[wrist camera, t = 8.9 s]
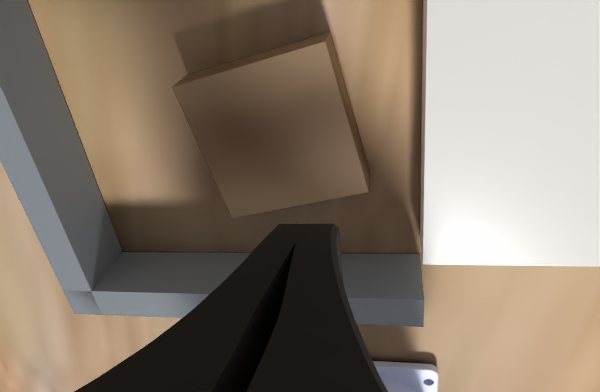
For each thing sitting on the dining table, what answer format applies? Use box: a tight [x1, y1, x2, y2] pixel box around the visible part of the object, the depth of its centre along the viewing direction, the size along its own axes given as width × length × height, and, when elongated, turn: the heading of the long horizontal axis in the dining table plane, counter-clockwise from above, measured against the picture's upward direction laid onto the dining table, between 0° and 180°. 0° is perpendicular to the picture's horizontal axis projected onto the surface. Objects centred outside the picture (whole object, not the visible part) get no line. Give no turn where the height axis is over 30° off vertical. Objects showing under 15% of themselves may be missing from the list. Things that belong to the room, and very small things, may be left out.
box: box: [0, 0, 424, 327], centre depth 18 cm, size 17×16×3 cm
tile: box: [172, 32, 370, 219], centre depth 19 cm, size 6×6×2 cm
